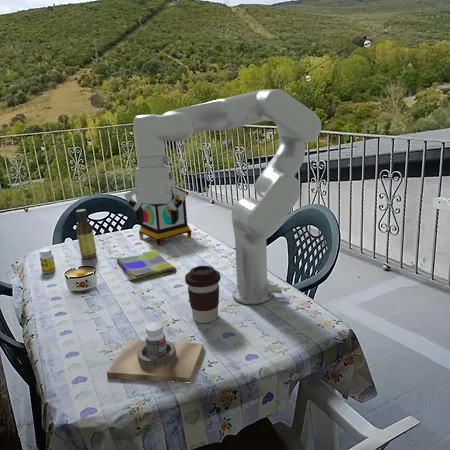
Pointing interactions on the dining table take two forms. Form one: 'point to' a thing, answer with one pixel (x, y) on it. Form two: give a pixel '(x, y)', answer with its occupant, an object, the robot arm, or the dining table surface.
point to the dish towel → (145, 266)
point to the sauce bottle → (85, 235)
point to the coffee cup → (203, 293)
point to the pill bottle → (155, 341)
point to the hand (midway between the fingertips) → (157, 223)
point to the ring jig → (157, 362)
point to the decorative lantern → (164, 221)
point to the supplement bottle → (47, 261)
